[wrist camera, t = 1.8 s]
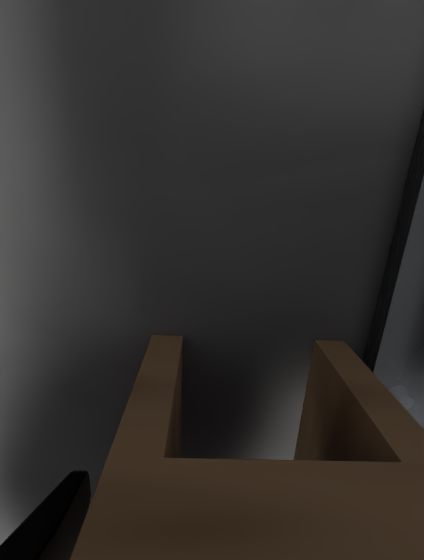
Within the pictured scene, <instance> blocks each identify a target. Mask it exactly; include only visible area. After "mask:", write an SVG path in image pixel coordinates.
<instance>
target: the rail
mask: <svg viewBox="0 0 424 560" xmlns="http://www.w3.org/2000/svg"><path fill="white" fill-rule="evenodd" d="M364 363H365V365H366V366H367V367H368V368H369V369H370V370H371V371H372V372H373V373H374V375H375V376H376V377H377V378H378V379H379V380H380V381H381V382H382V383H383V385H384V386H385V387H386V388H387V389H388V390H389V391H390V392H391V393H392V395H393V396H394V397H395V398H396V399H397V400H398V401H399V402H400V403H401V405H402V406H403V407H404V408H405V409H406V410H407V411H408V412H409V413H410V415H411V416H412V417H413V418H414V419H415V420H416V421H417V422H418V423H419V425H420V426H421V427H422V428H423V429H424V112H423V117H422V121H421V125H420V129H419V133H418V137H417V142H416V146H415V150H414V154H413V158H412V162H411V167H410V171H409V175H408V179H407V183H406V187H405V192H404V196H403V200H402V204H401V208H400V212H399V217H398V221H397V225H396V229H395V233H394V237H393V242H392V246H391V250H390V254H389V258H388V262H387V266H386V271H385V275H384V279H383V283H382V287H381V291H380V296H379V300H378V304H377V308H376V312H375V316H374V321H373V325H372V329H371V333H370V337H369V341H368V346H367V350H366V354H365V358H364Z"/></svg>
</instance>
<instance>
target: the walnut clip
mask: <svg viewBox="0 0 424 560" xmlns="http://www.w3.org/2000/svg"><path fill="white" fill-rule="evenodd" d="M182 356H183V336H179V335H152V337H151V340H150V342H149V345H148V348H147V351H146V353H145V356H144V359H143V362H142V364H141V367H140V370H139V372H138V375H137V378H136V381H135V383H134V386H133V389H132V392H131V394H130V397H129V400H128V403H127V405H126V408H125V411H124V413H123V416H122V419H121V422H120V424H119V427H118V430H117V433H116V435H115V438H114V441H113V444H112V446H111V449H110V452H109V454H108V457H107V460H106V463H105V465H104V468H103V471H102V474H101V476H100V479H99V482H98V485H97V487H96V490H95V493H94V495H93V498H92V501H91V504H90V506H89V509H88V512H87V515H86V517H85V520H84V523H83V525H82V528H81V531H80V534H79V536H78V539H77V542H76V545H75V547H74V550H73V553H72V556H71V558H70V560H424V429H423V428H422V427H421V426H420V425H419V423H418V422H417V421H416V420H415V419H414V418H413V417H412V416H411V415H410V413H409V412H408V411H407V410H406V409H405V408H404V407H403V406H402V405H401V403H400V402H399V401H398V400H397V399H396V398H395V397H394V396H393V395H392V393H391V392H390V391H389V390H388V389H387V388H386V387H385V386H384V385H383V383H382V382H381V381H380V380H379V379H378V378H377V377H376V376H375V375H374V373H373V372H372V371H371V370H370V369H369V368H368V367H367V366H366V365H365V363H364V362H363V361H362V360H361V359H360V358H359V357H358V356H357V355H356V353H355V352H354V351H353V350H352V349H351V348H350V347H349V346H348V345H347V343H346V342H345V341H335V340H315V341H314V347H313V352H312V358H311V364H310V369H309V375H308V381H307V387H306V392H305V398H304V404H303V409H302V415H301V421H300V426H299V432H298V438H297V444H296V449H295V455H294V460H256V459H201V458H181V413H182Z"/></svg>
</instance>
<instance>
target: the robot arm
mask: <svg viewBox="0 0 424 560" xmlns="http://www.w3.org/2000/svg"><path fill="white" fill-rule="evenodd" d="M90 497H91V490H90V481H89V474H88V472H87V471H72V472H71V473H70V474H69V475H68V476H67V477H66V478H65V479H64V480H63V481H62V482H61V483H60V484H59V485H58V486H57V487H56V488H55V489H54V490H53V491H52V492H51V493H50V494H49V495H48V496H47V497H46V498H45V499H44V501H43V502H42V503H41V504H40V505H39V506H38V507H37V508H36V509H35V510H34V511H33V512H32V513H31V514H30V515H29V516H28V517H27V518H26V519H25V520H24V521H23V522H22V523H21V524H20V525H19V527H18V528H17V529H16V530H15V531H14V532H13V533H12V534H11V535H10V536H9V537H8V538H7V539H6V540H5V541H4V542H3V543H2V544H1V545H0V560H70V558H71V556H72V553H73V550H74V547H75V545H76V542H77V539H78V536H79V534H80V531H81V528H82V525H83V523H84V520H85V517H86V513H87V510H88V506H89V502H90Z"/></svg>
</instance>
